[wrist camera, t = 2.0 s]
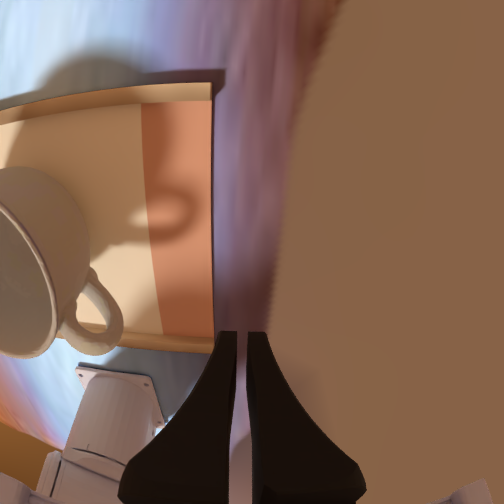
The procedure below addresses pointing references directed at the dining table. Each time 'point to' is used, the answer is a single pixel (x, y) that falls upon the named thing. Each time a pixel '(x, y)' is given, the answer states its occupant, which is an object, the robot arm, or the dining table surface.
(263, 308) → the dining table surface
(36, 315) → the teacup
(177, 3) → the dining table surface
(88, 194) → the beige flat rectangular board
